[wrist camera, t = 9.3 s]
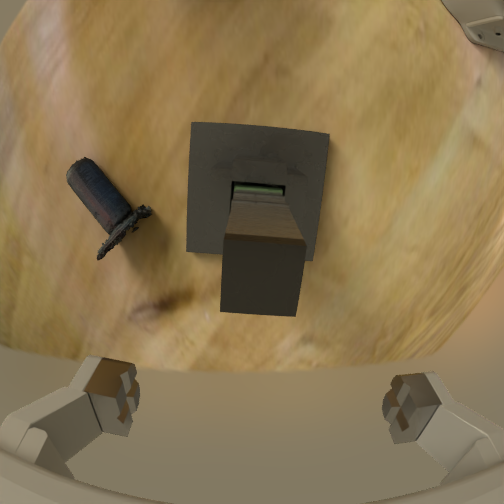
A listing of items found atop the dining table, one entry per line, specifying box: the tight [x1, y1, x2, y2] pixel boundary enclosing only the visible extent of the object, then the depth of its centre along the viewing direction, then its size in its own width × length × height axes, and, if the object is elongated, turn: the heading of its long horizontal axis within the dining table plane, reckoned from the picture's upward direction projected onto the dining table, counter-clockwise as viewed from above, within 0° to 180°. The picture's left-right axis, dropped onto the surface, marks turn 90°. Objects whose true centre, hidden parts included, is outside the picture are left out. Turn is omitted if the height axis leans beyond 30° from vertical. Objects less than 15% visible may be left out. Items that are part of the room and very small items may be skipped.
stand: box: [186, 122, 330, 261], centre depth 35 cm, size 16×16×10 cm
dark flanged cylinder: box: [66, 157, 151, 260], centre depth 37 cm, size 9×8×12 cm
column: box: [220, 183, 307, 317], centre depth 24 cm, size 4×4×17 cm
